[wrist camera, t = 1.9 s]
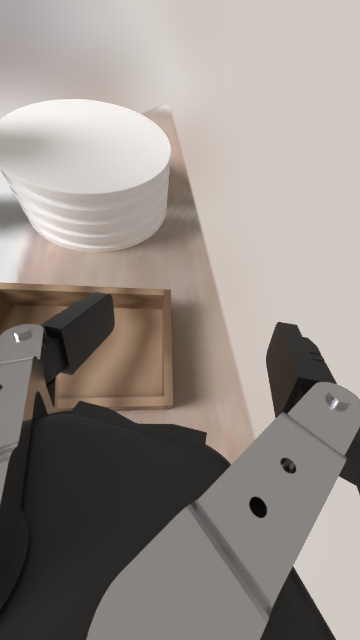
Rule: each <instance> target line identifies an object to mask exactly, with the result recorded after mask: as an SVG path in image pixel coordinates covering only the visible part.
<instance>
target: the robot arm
mask: <svg viewBox="0 0 360 640" xmlns="http://www.w3.org/2000/svg"><path fill="white" fill-rule="evenodd" d="M114 326H115V317H114V306H113V298H112V295H111V294H107V293H101V292H94V293H92V294H91V295H89V296H88V297H86V298H85V299H83V300H81V301H78V302H75V303H73V304H72V305H70V306H69V307H67V309H64V310H63V311H61V313H58V314H56V315H55V316H53V317H52V318H50V319H49V320H47V321H45V322H44V323H42V324H41V325H37V324H23V325H19V326H15V327H12V328H10V329H8V330H6V331H5V332H3V333H2V334H1V336H0V640H336V639H335V637H334V635H333V634H332V632H331V630H330V629H329V627H328V625H327V623H326V622H325V620H324V618H323V617H322V615H321V613H320V611H319V610H318V608H317V606H316V605H315V603H314V601H313V599H312V598H311V596H310V594H309V593H308V591H307V589H306V588H305V586H304V584H303V582H302V581H301V579H300V577H299V575H298V574H297V572H296V570H295V569H294V567H293V565H294V563H295V561H296V559H297V557H298V555H299V553H300V551H301V549H302V547H303V545H304V543H305V541H306V539H307V537H308V535H309V533H310V531H311V529H312V527H313V525H314V523H315V521H316V519H317V517H318V515H319V513H320V511H321V509H322V507H323V506H324V504H325V502H326V500H327V497H328V496H329V494H330V492H331V490H332V488H333V486H334V484H335V482H336V480H337V478H338V476H340V477H342V478H343V479H345V480H347V481H349V482H351V483H352V484H354V485H356V486H357V488H358V491H359V493H360V399H359V398H358V397H357V396H356V395H355V394H353V393H352V392H350V391H349V390H347V389H345V388H343V387H342V386H339V385H337V383H336V381H335V379H334V378H333V376H332V374H331V372H330V370H329V368H328V366H327V365H326V363H324V359H323V358H322V356H321V353H320V351H319V349H318V348H317V346H316V345H315V344H314V343H313V342H312V341H310V340H309V339H308V338H305V337H302V335H301V333H300V331H299V329H298V326H297V325H294V324H288V323H282V322H278V323H277V324H276V327H275V330H274V332H273V335H272V338H271V341H270V344H269V348H268V350H267V356H266V365H267V371H268V377H269V383H270V388H271V394H272V400H273V406H274V412H275V417H276V419H275V420H274V421H273V422H272V423H271V424H270V425H269V426H268V427H267V428H266V429H265V430H264V431H263V432H262V434H261V435H260V436H259V437H258V438H257V439H256V440H255V441H254V442H253V443H252V444H251V445H250V446H249V447H248V448H247V449H246V450H245V451H244V452H243V453H242V454H241V455H240V456H239V457H238V459H237V460H236V461H235V462H234V463H233V464H232V465H231V464H230V463H229V462H228V461H227V460H226V459H225V458H224V457H223V456H222V455H221V454H220V453H218V452H217V451H216V450H214V449H213V448H211V447H210V446H208V445H206V444H205V442H206V435H207V433H206V432H202V431H198V430H194V429H190V428H186V427H182V426H178V425H174V424H137V423H134V422H132V421H131V420H129V419H127V418H125V417H124V416H122V415H120V414H118V413H117V412H115V411H113V410H111V409H110V408H107V407H103V406H99V405H95V404H91V403H87V402H83V401H79V402H78V403H77V405H76V406H75V407H74V408H73V410H69V411H60V412H58V378H57V375H58V374H59V373H64V374H68V375H73V374H74V373H75V372H76V371H77V369H78V368H79V367H80V366H81V365H82V364H83V363H84V362H85V361H86V360H87V359H88V358H89V357H90V355H91V354H92V353H93V352H94V351H95V350H96V349H97V348H98V347H99V346H100V345H101V344H102V343H103V341H104V340H105V339H106V338H107V337H108V336H109V335H110V334H111V333H112V331H113V329H114Z"/></svg>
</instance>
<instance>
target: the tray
mask: <svg viewBox="0 0 360 640" xmlns="http://www.w3.org/2000/svg"><path fill="white" fill-rule="evenodd" d="M94 292H101V293H107V294H111V295H112V298H113V306H114V317H115V326H114V329H113V331H112V333H111V334H110V335H109V336H108V337H107V338H106V339H105V340H104V341H103V343H102V344H101V345H100V346H99V347H98V348H97V349H96V350H95V351H94V352H93V353H92V354H91V355H90V357H89V358H88V359H87V360H86V361H85V362H84V363H83V364H82V365H81V366H80V367H79V368H78V369H77V371H76V372H75V373H74V374H73V375H68V374H64V373H59V374H58V375H57V378H58V412H60V411H69V410H73V408H74V407H75V406H76V405H77V403H78V402H79V401H83V402H87V403H91V404H95V405H99V406H103V407H107V408H110V409H111V410H113V411H126V410H159V409H170V408H171V407H172V406H173V368H172V325H171V290H162V289H138V288H115V287H91V286H68V285H44V284H21V283H0V336H1V334H2V333H3V332H5V331H6V330H8V329H10V328H12V327H15V326H19V325H23V324H37V325H41V324H42V323H44V322H45V321H47V320H49V319H50V318H52V317H53V316H55V315H56V314H58V313H61V311H63V310H64V309H67V307H69V306H70V305H72V304H73V303H75V302H78V301H81V300H83V299H85V298H86V297H88V296H89V295H91V294H92V293H94Z"/></svg>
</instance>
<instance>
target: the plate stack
mask: <svg viewBox="0 0 360 640" xmlns="http://www.w3.org/2000/svg"><path fill="white" fill-rule="evenodd" d="M170 161H171V145H170V142H169V139H168V138H167V136H166V134H165V133H164V132H163V130H162V129H161V128H160V127H159V126H158V125H156V124H155V123H154V122H153V121H151V120H150V119H148V118H147V117H145V116H143V115H141V114H139V113H137V112H135V111H133V110H130V109H127V108H124V107H121V106H118V105H114V104H110V103H106V102H100V101H93V100H83V99H82V100H81V99H61V100H50V101H44V102H39V103H34V104H31V105H27V106H24V107H22V108H19V109H17V110H15V111H13V112H11V113H9V114H7V115H6V116H5V117H3V118H2V119H1V120H0V169H1V172H2V174H3V175H4V177H5V179H6V181H7V183H8V184H9V186H10V188H11V190H12V191H13V193H14V195H15V197H16V199H17V200H18V202H19V204H20V206H21V208H22V209H23V211H24V213H25V214H26V216H27V218H28V220H29V222H30V223H31V225H32V226H33V228H34V229H35V230H36V231H37V232H38V233H39V234H40V235H42V236H43V237H44V238H46V239H47V240H49V241H51V242H53V243H55V244H57V245H59V246H62V247H65V248H68V249H72V250H77V251H83V252H111V251H118V250H122V249H126V248H129V247H132V246H135V245H137V244H139V243H141V242H143V241H145V240H146V239H148V238H149V237H151V236H152V235H153V234H154V233H155V232H156V231H157V230H158V229H159V228H160V226H161V225H162V223H163V221H164V219H165V215H166V208H167V197H168V185H169V173H170Z"/></svg>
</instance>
